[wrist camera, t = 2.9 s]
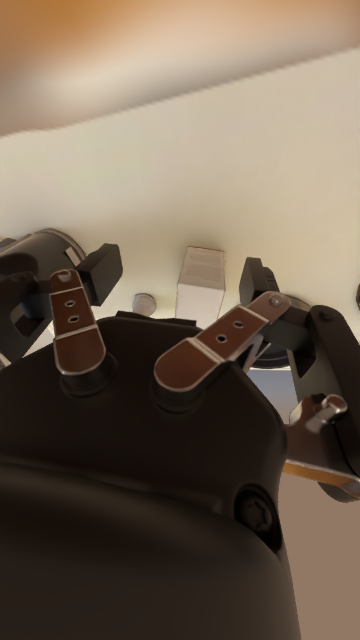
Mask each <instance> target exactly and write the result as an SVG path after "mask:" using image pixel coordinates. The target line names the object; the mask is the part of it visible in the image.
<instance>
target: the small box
mask: <svg viewBox="0 0 360 640" xmlns="http://www.w3.org/2000/svg"><path fill="white" fill-rule="evenodd" d="M224 293H225V271H224V252H222V251H215V250H209V249H202V248H195V247H188V249H187V252H186V256H185V259H184V262H183V266H182V269H181V272H180V275H179V279H178V282H177V299H176V310H175V318H181V319H189V320H197V323H196V326H197V327H200V328H202V329H206V328H207V327H208V326H210V325H211V324H212V323H214V322H215V321H217V319H218V315H219V311H220V308H221V304H222V301H223V297H224Z"/></svg>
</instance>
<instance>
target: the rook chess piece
mask: <svg viewBox="0 0 360 640" xmlns="http://www.w3.org/2000/svg"><path fill="white" fill-rule="evenodd" d="M132 308H133V313H138V314H141V315H144V316H147V317H149V316H150V315H152V314H153V312H154V311H155V309H156V303H155V301H154V300H153V299H152V298H151V297H150V296H148V295H144V294H142V295H138V296H136V297H135V298H134V300H133V303H132Z"/></svg>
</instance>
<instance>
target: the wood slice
mask: <svg viewBox="0 0 360 640" xmlns="http://www.w3.org/2000/svg"><path fill="white" fill-rule="evenodd" d="M356 301H357V304H358V307H359V310H360V285H359V287H358V291H357V297H356Z"/></svg>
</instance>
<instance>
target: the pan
mask: <svg viewBox="0 0 360 640" xmlns="http://www.w3.org/2000/svg"><path fill="white" fill-rule="evenodd" d="M289 299H290V300H291V303H292V304H291V306H293V307H295V308H298V309H301V310H305V311H308V312H309V310H310V307H309V306H308V305H307V304H305V303H304V302H302V301H300V300H298V299H294V298H290V297H289ZM287 366H290V363H289V358H288V353H287V349H285V348H282V347H280V346H277V345H274V344H272V343H271V345H270V346H269V347H268V348H267V349H266V350H265V351H264V352H263V353H262V354H261V355H260V357H259V358H258V359H257V360H256V361H255V362H254V363H253V364H252V366H251V367H253V368H260V369H275V368H282V367H287Z"/></svg>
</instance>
